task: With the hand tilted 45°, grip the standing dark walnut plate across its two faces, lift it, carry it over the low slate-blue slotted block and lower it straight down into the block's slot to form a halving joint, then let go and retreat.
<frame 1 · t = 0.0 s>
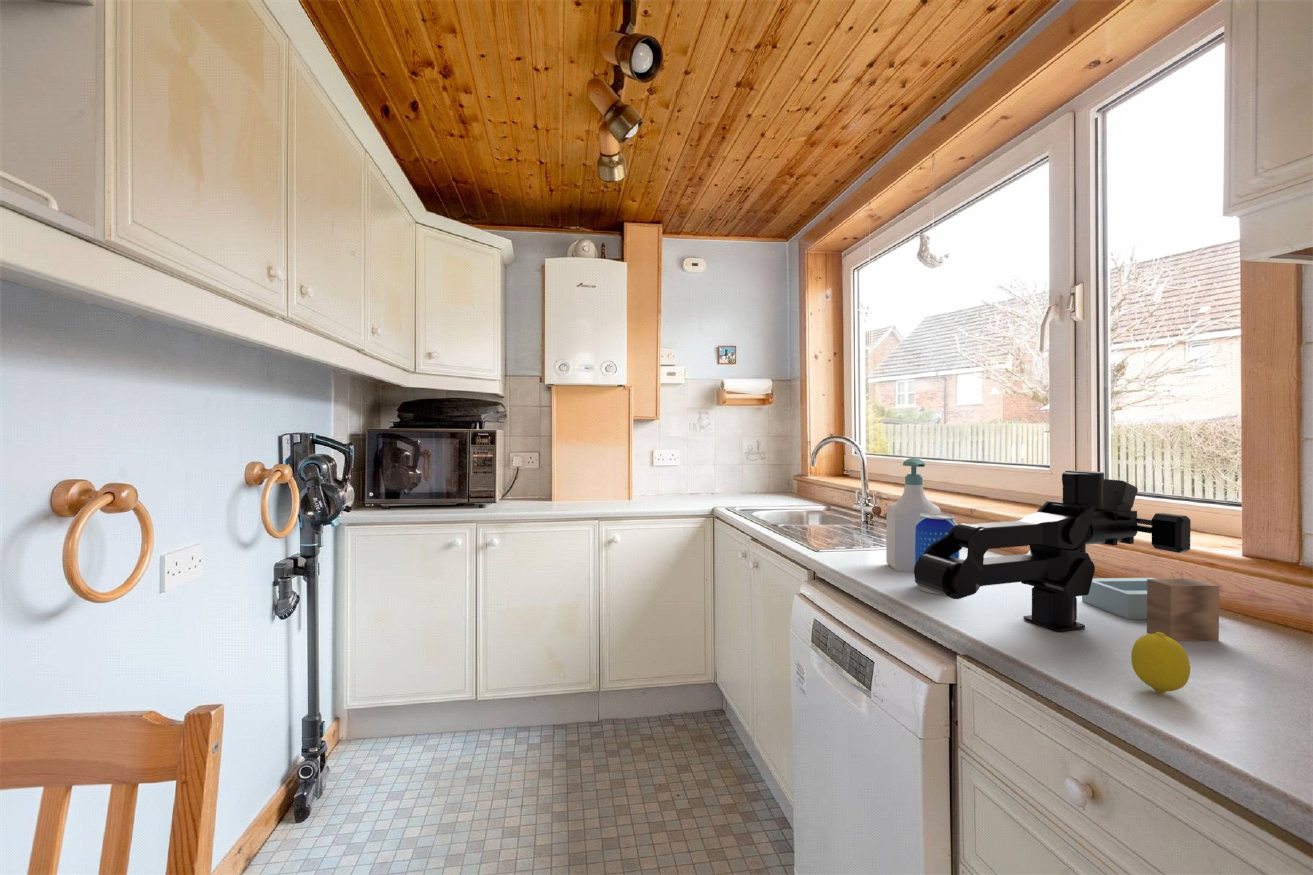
hand: (1154, 522, 99), 17 cm above the worktop, tool horizontal, fingers open, 9 cm apart
lemon: (1159, 694, 68), on the worktop
soap bottle: (914, 569, 129), on the worktop
beer can: (936, 590, 112), on the worktop
walnut plate: (1181, 636, 87), on the worktop
slotted block: (1140, 609, 100), on the worktop
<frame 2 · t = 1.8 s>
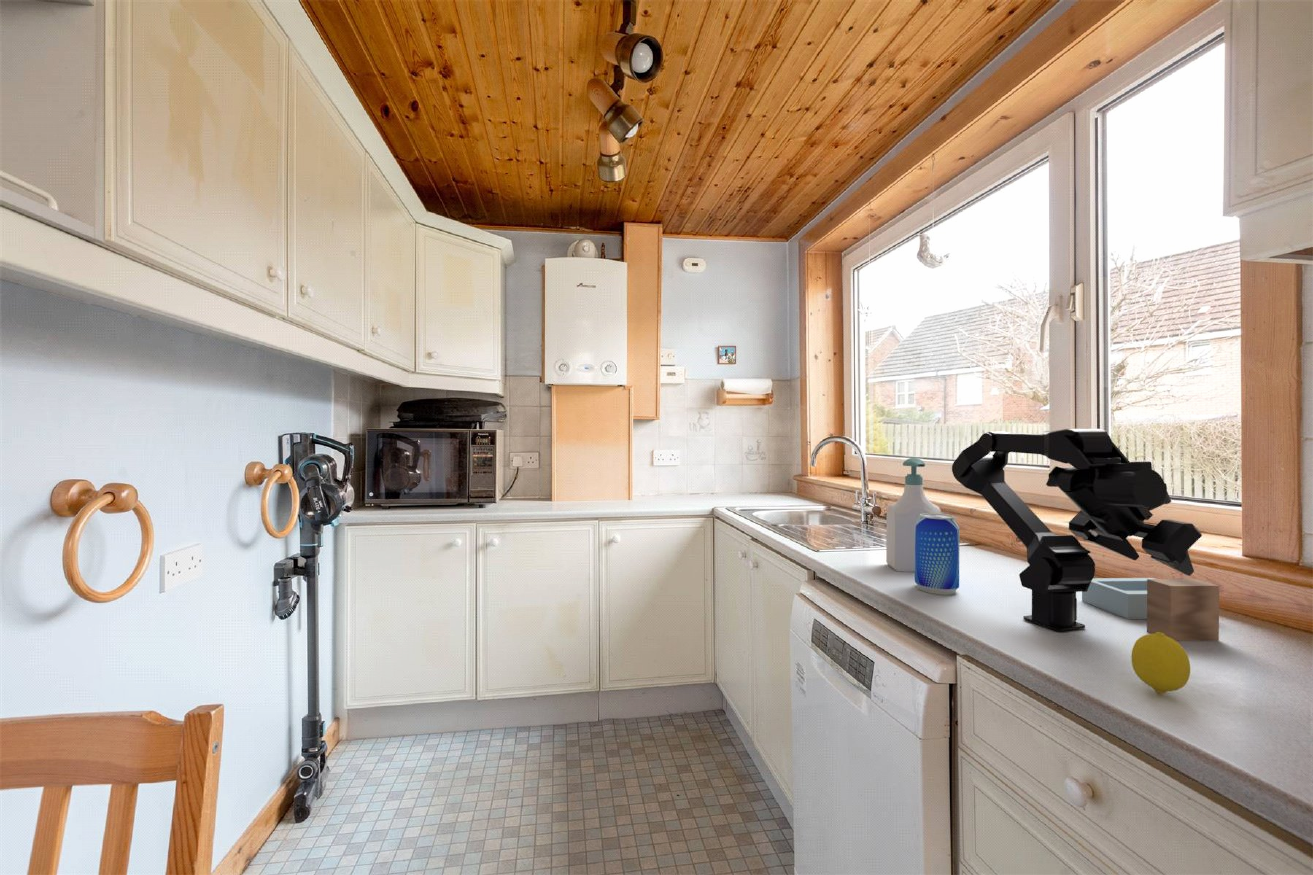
hand: (1162, 565, 87), 12 cm above the worktop, tool tilted 45°, fingers open, 9 cm apart
nothing on the worktop moved.
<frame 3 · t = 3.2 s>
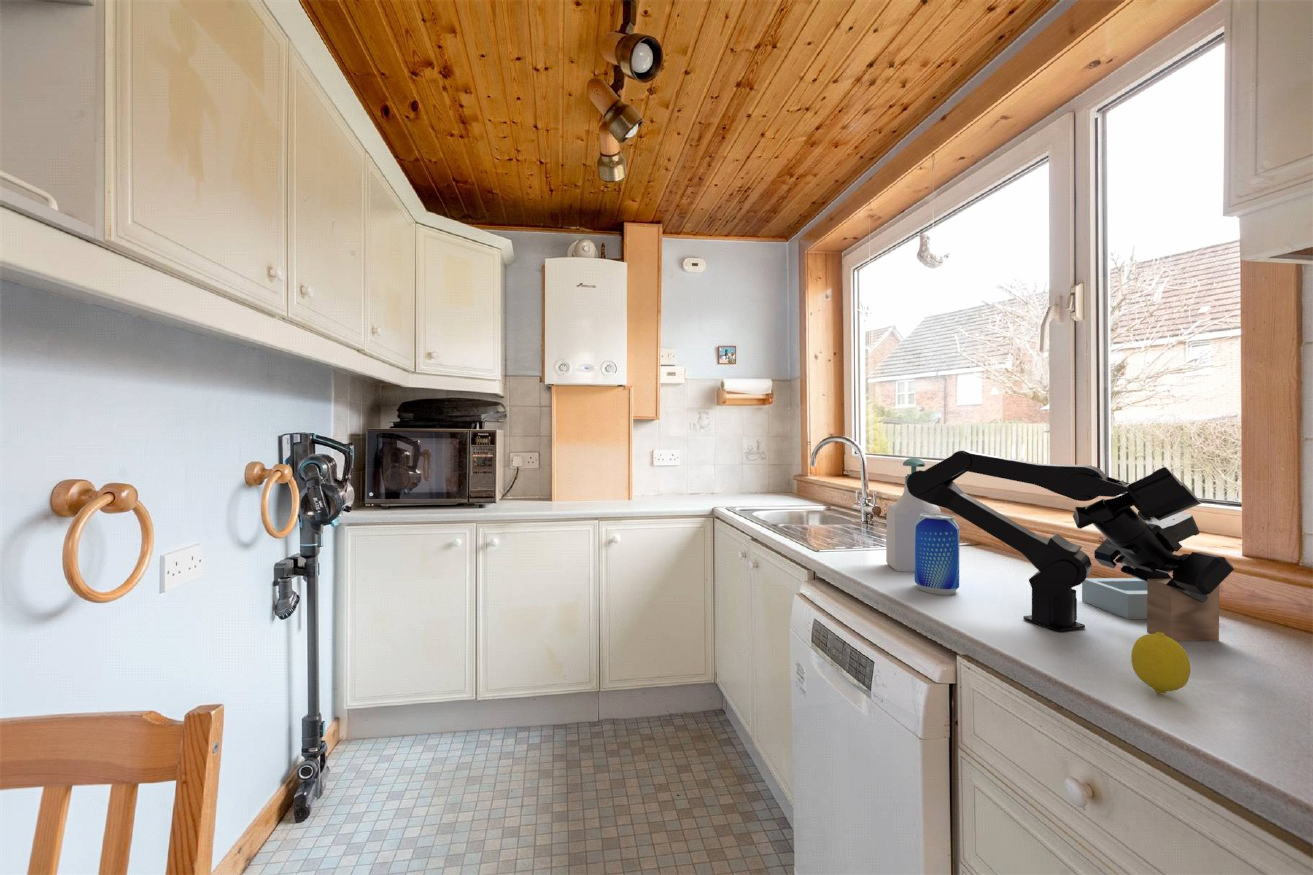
hand: (1190, 595, 87), 7 cm above the worktop, tool tilted 45°, fingers closed on walnut plate, 4 cm apart
walnut plate: (1182, 635, 87), on the worktop, touching gripper
everything else where it was.
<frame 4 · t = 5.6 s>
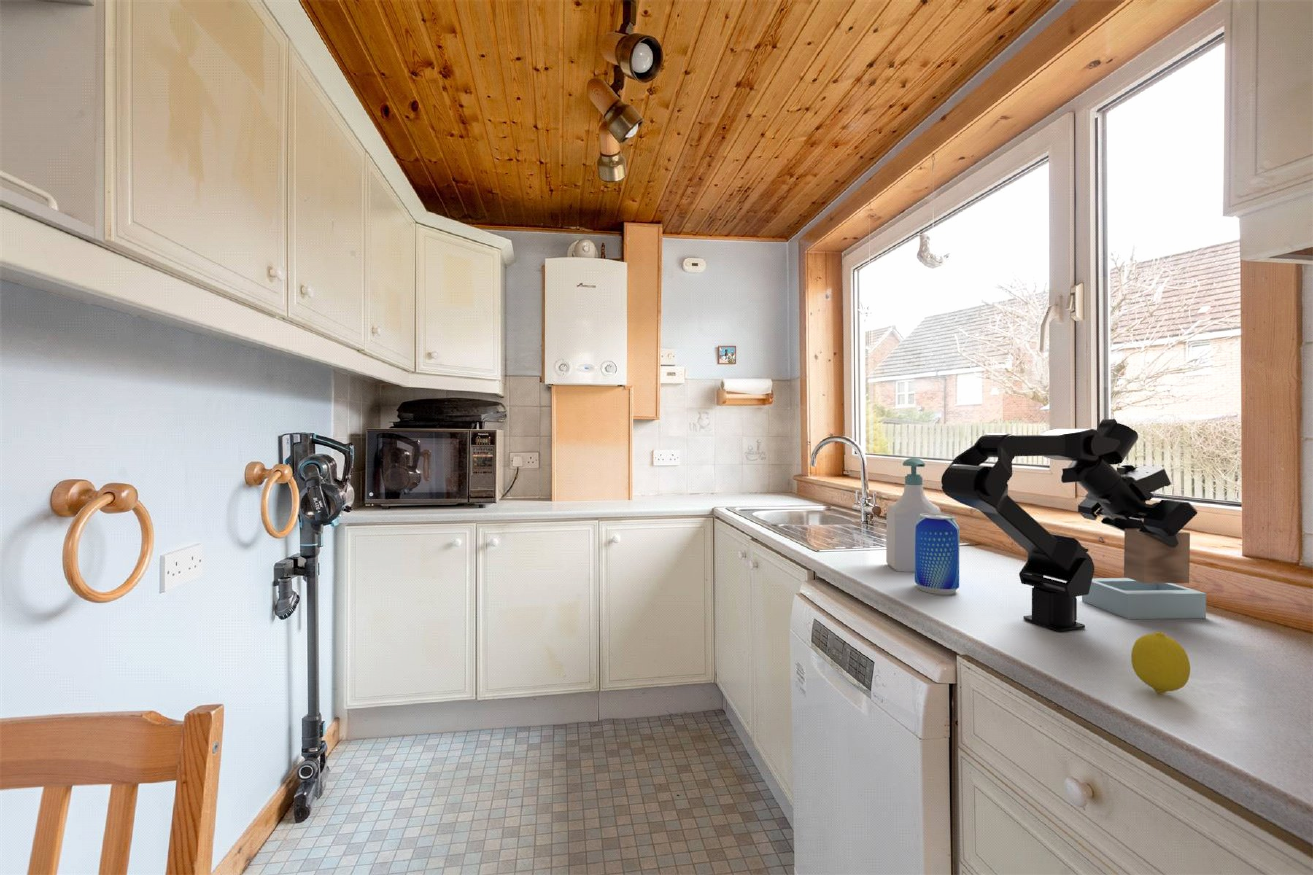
hand: (1164, 542, 95), 14 cm above the worktop, tool tilted 45°, fingers closed on walnut plate, 4 cm apart
walnut plate: (1155, 579, 95), point 7 cm above the worktop, touching gripper
everything else where it was.
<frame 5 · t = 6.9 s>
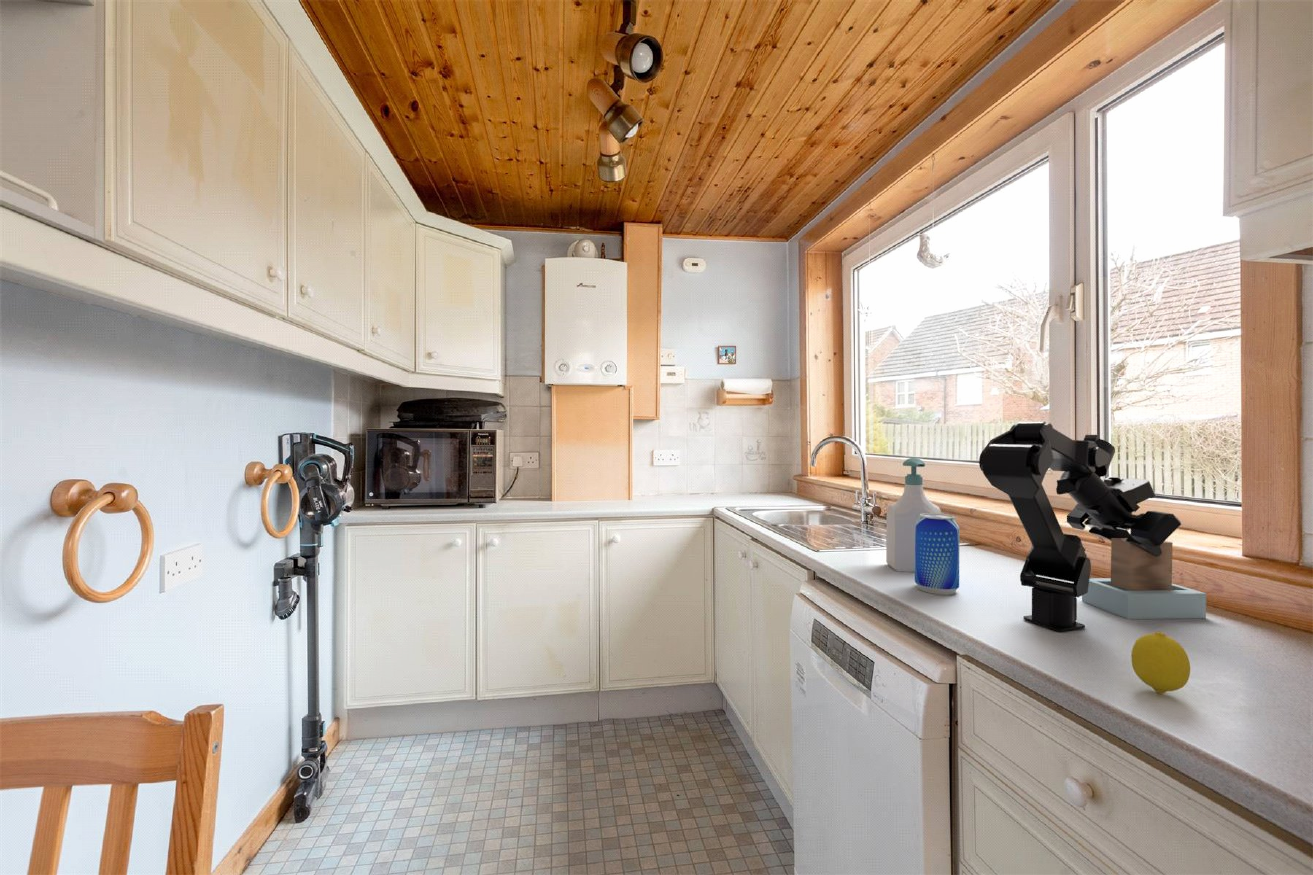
hand: (1148, 552, 100), 11 cm above the worktop, tool tilted 45°, fingers closed on walnut plate, 4 cm apart
walnut plate: (1140, 587, 100), point 4 cm above the worktop, touching gripper
everything else where it was.
when the fingers open (7 cm above the worktop, at t = 8.1 s): walnut plate stays where it is, resting in slotted block.
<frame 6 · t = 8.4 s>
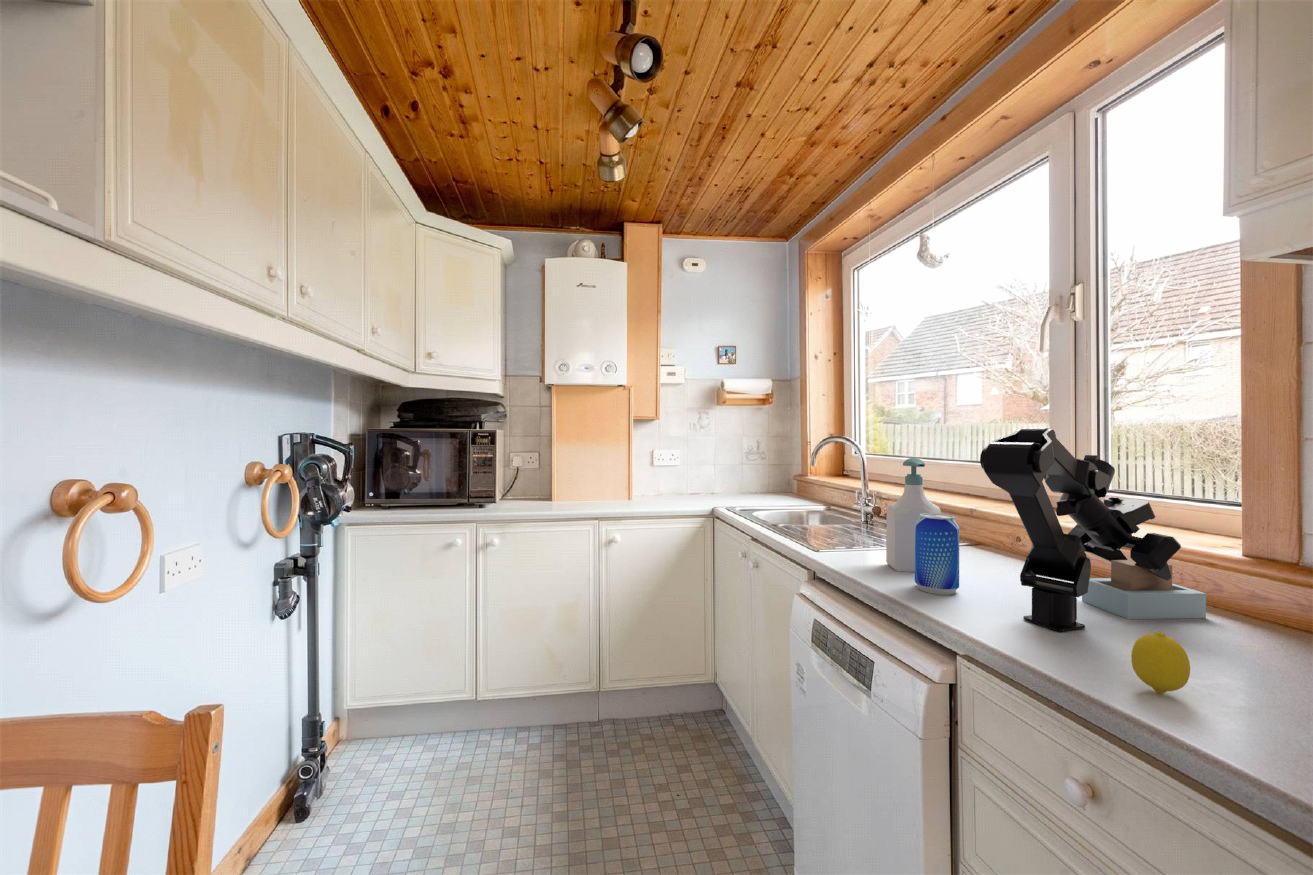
hand: (1148, 572, 100), 7 cm above the worktop, tool tilted 45°, fingers open, 8 cm apart
walnut plate: (1140, 609, 100), resting in slotted block
everything else where it was.
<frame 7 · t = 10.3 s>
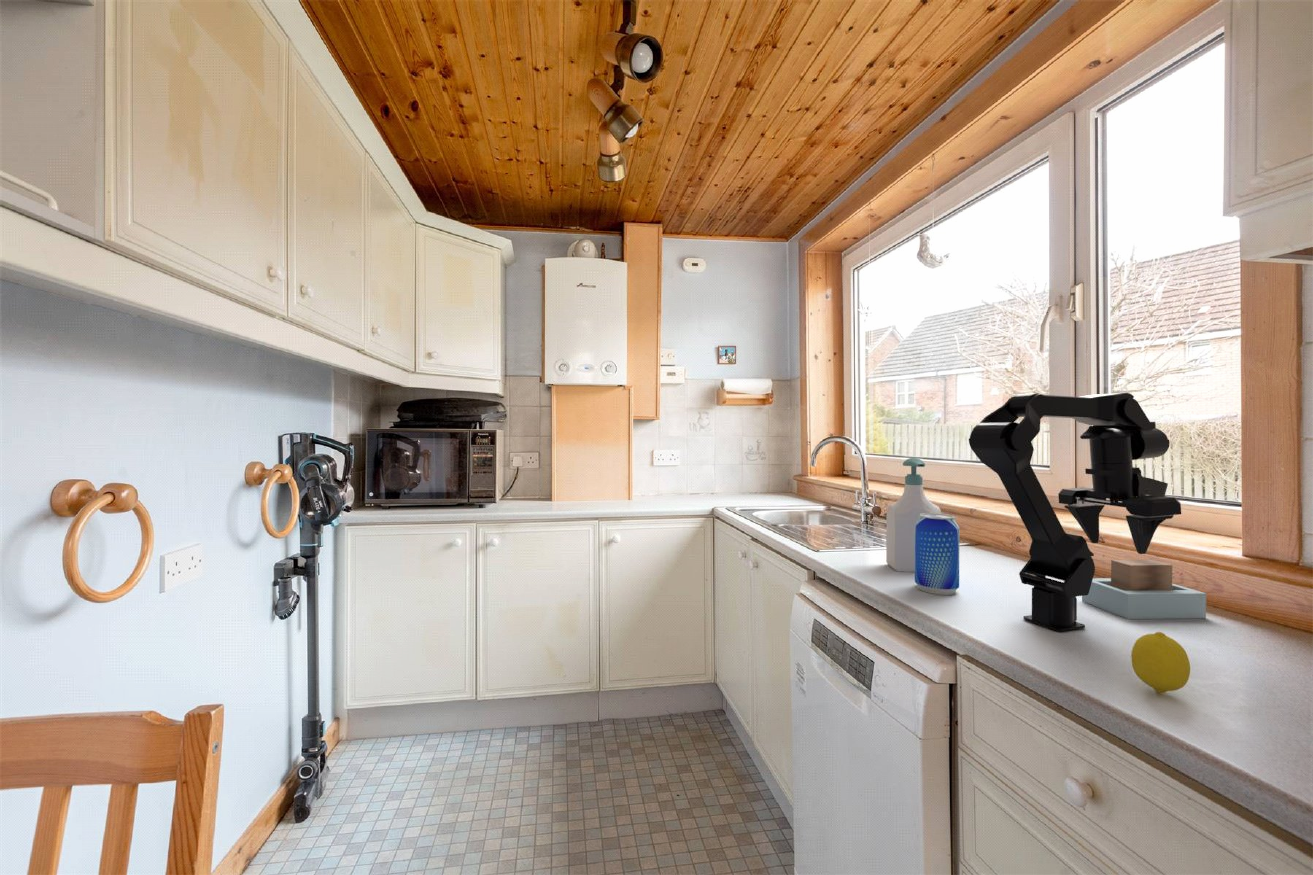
hand: (1117, 548, 95), 13 cm above the worktop, tool pointing down, fingers open, 9 cm apart
nothing on the worktop moved.
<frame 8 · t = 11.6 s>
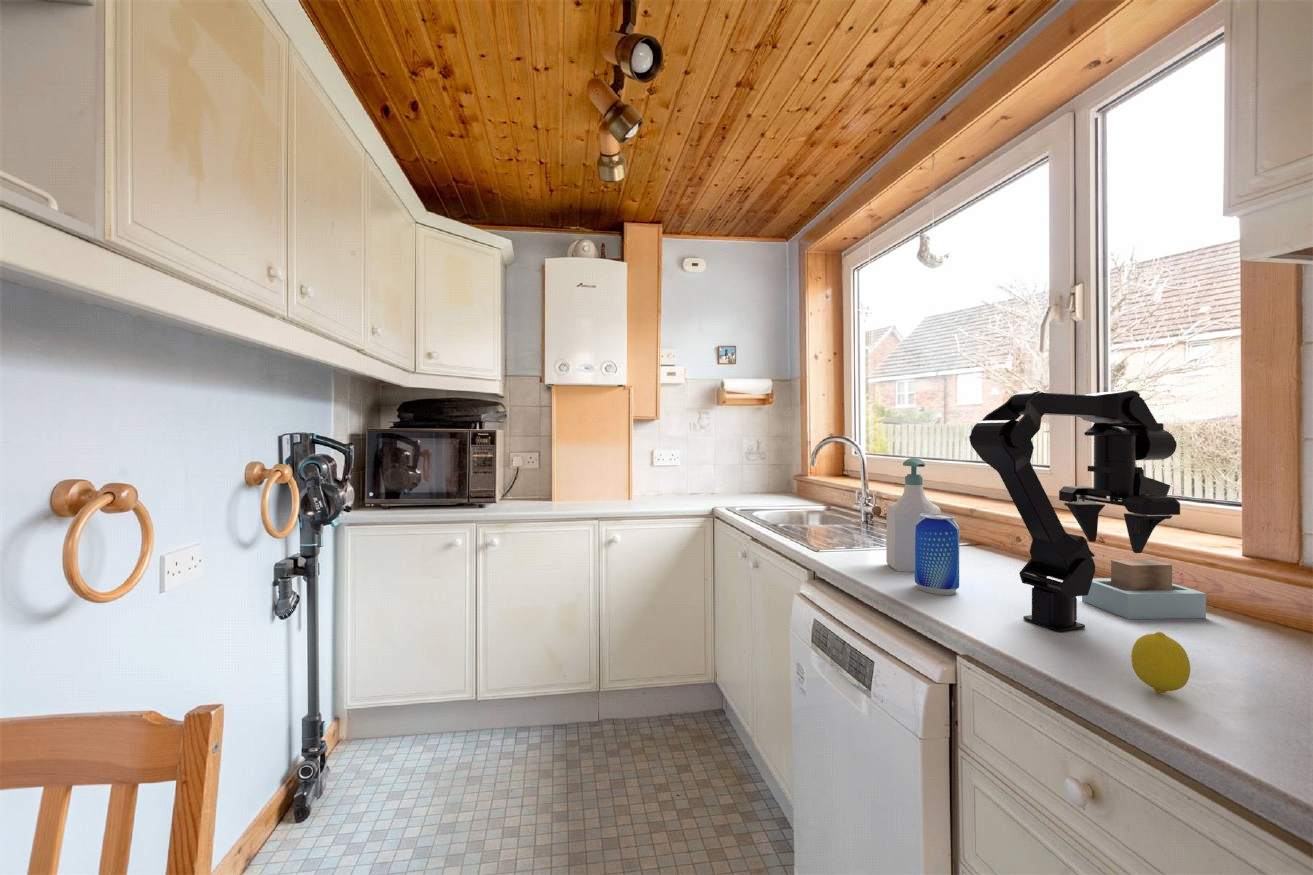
hand: (1113, 547, 95), 13 cm above the worktop, tool pointing down, fingers open, 9 cm apart
nothing on the worktop moved.
at the end: walnut plate 0.1 cm off-centre on the slotted block, point 0.0 cm above the slotted block's base; walnut plate tilted 0°; the gripper is holding nothing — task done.
